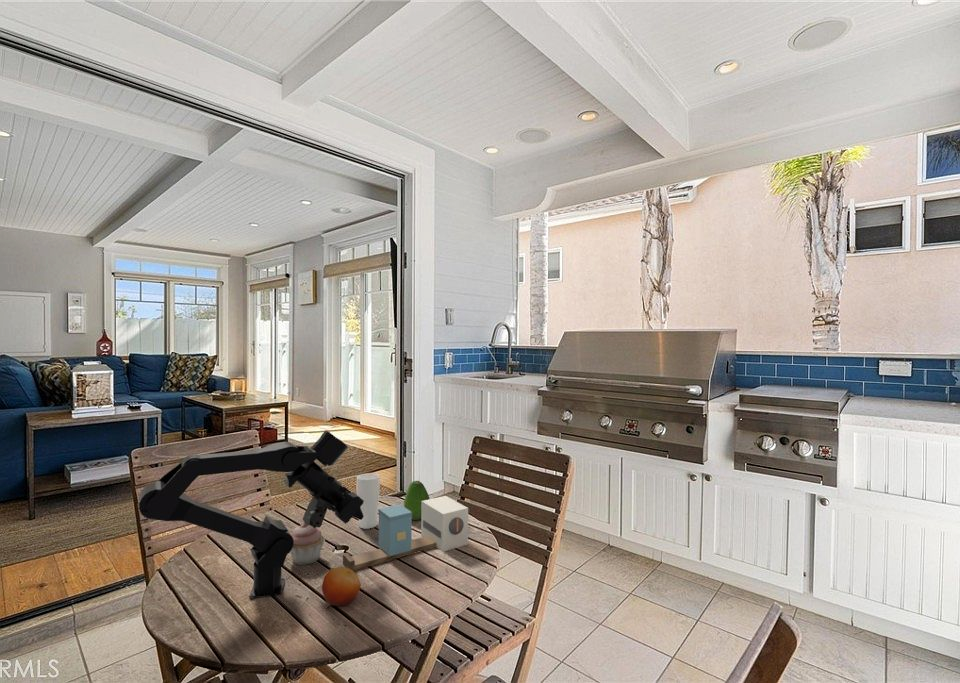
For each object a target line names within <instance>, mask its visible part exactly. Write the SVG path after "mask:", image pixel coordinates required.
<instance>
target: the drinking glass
mask: <svg viewBox="0 0 960 683" xmlns="http://www.w3.org/2000/svg"><path fill="white" fill-rule="evenodd" d="M380 480H381V478H380V475H379V474H378V473H373V472H367V473H361V474H359V475H356V482H355V483H356V486H355V487H356V495H357V496H359V497H360V498H361V499H362V500H364V502H363V504H362V506H361V507H360V508H361V511H362V513H363V516H364V517H363V518H362V519H361V520H360V519H358V526H359V528H361V529H362V528H363V530H368V529H370V528H371V529H373V528H375V527H376V526H378V514H379V513H378V509H379V500H380V489H381V488H380V487H381V485H380V484H381V483H380Z"/></svg>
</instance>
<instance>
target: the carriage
mask: <svg viewBox="0 0 960 683" xmlns="http://www.w3.org/2000/svg"><path fill="white" fill-rule="evenodd" d="M377 514H378V547H379V549H382V550H384V551H385V552H386V553H387V554H388V555H389V556H393V555H396V554H400V553H403V552H407V551H410V550H411V540H412V512H411V511H409V510H408V509H406V508H405V507H404V505H402V504H401V503H399V504H395V505H390V506H385V507H381V508H378V513H377Z"/></svg>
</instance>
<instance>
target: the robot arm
mask: <svg viewBox="0 0 960 683" xmlns="http://www.w3.org/2000/svg"><path fill="white" fill-rule="evenodd" d="M348 448H349V446H348V445H347V444H346V443H345V442H343V440H341V439H340V438H337V437H336V436H335V435H334V434H332V433H331V432H330V431H328V430H324V432H322V434H321V435H320V437H319V438H318V439H317V440H316V441H315V442H314V444H313V445H311V447H310V446H308V445H295V444H293V442H291V441H282V442H277V443H273V444H269V445H266V446H264V447H262V448H257V449H253V450H251V449H250V450H242V451H241V450H240V451H231V452H230V451H229V452H218V453H208V454H195V453H193V454H189V455H187V456H186V457H184V458H183V459H182V460H181V461H180V463H178V464H177V465H175V466H174V467H173V468H171V469H170V470H169V471H167V472H166V473H164V475H162V477H161V478H159V479H158V480H156V481H153V482H150V483H148V484H146V485H145V486H144V487H143V488H142V489H141V491H140V494H139V497H138V498H139V499H138V509H139V513H140V514H141V516H142V517H144V518H146V519H148V520H155V521H161V522H185V523H188V524H191V525H195V526H196V527H199V528H204V529H206V530H209V531H213V532H214V533H215V532H216V533H219V534H222V535H225V536H227V537H231V538H234V539H237V540H240V541H243V542H246V543H249V544H250V545H251V546H252V547H251V548H250V553H251V555H252V557H253V559H254V563H253V586H252V587H251V589H250V593H249V599H254V598H255V599H256V598H262V597H268V596H269V597H270V596H277V595H278V596H279V595H282V594H283V593H282V592H283V588H284V585H285V581H286V578H285V577H282V572H283V571H282V570H283V569H282V567H284V564H285V562H286V558H287V556H288V554H290V553H291V552H290V551H291V550H292V547H293V544H294V540H293V537H292V536H291V535H292V533H290V531H289V529H288V528H287V527H286V525H285V523H284V522H283V521H282V520H280V519H279V520H276V519H274V518H272V517H270V516H268V515H265V516H264V519H263V521H254V520H251V519H249V518H246V517H243V516H239V515H238V514H234V513H231V512H228V511H225V510H223V509H220V508H217V507H215V506H212V505H209V504H206V503H203V502H200V501H197V500H194V499H193V498H191V497H190V496H188V495H187V494H186V493H185V491H186V490H187V489H188V488H190V485H191V484H192V483H193V482H194V481H195V480H196V479H197V478H198V477H200V476H201V477H202V476H209V475H219V474H227V473H228V474H229V473H236V472H237V473H238V472H247V471H253V470H254V471H256V470H257V471H258V470H262V471H263V470H264V471H270V472H275V473H276V472H279V473H281V472H282V473H283V472H284V473H285V474H284V476H285V477H284V478H285V481H284V484H285V485H286V486H287V487H288V488H292V487H293V486H294V485H295V484H296V483H297V484H299V485H300V486H301V487H302V488H304V489H305V490H307V491H308V492H309V494H310V496H311V497H312V498H311V500H310V501H309V503H308V505H307V507H306V509H305V512H304V513H303V516H302V521H303V522H305V523H306V524H307V525H310V526H312V527H313V528H316V527H318V528H319V529H320V528H321V526H322V525H323V521H324V520H325V516H326V515H327V514H326V513H327V512H328V511H332V512H333V513H334V515H335V516H336V517H337V518H338V519H339V520H340V521H341V522H343V524H345V525H346V524H348V523H349V522H350V521H351V519H352V518H355V519H358V520H359V519H360V520H361V519H362V518H363V517H364V516H363V513H362V511H361V508H360V507H361V506H362V504H363V502H364V500H362V499H361V498H360V497H359V496H357V493H355V492H352V491H350V490H349V488H347V487H345V486H344V485H343V483H341V482H340V481H339V480H338V479H336V478H335V477H333V475H331V474H330V473H329V472H327V471H326V470H325V469H324V468H323V467H327V466H328V467H331V466H333V465H334V464H335V463H336V462H337V461H338V460H339V459H340V457H341V456H342V455H343V454H344V453H345V452H346V451H347V449H348ZM315 461H317V462H319V463H320V464H321V465H322V466H323V467H321V466H320V465H319V464H318V463H316V462H315Z"/></svg>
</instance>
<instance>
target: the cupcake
mask: <svg viewBox="0 0 960 683" xmlns="http://www.w3.org/2000/svg"><path fill="white" fill-rule="evenodd" d="M291 536H292V537H293V540H294V544H293V547H292V550H291V551H290V552H289V553H290V555H291V560H292V562H293V563H294V564H295V565H300V566H301V565H302V566H305V565H309V564H313V563H315V562H317V561H318V560H319V559H320V556H321V552H322V547H323V545H324V543H325V541H326V539H325V536H324V535H322V531H321V529H320V527H319V528H318V527H316V528H313V527H312V526H310V525H307V524H306V523H305V522H304V521H303V522H302V523H301V525H298V526H296V527H295V528H294V529H293V531H292V533H291Z"/></svg>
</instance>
